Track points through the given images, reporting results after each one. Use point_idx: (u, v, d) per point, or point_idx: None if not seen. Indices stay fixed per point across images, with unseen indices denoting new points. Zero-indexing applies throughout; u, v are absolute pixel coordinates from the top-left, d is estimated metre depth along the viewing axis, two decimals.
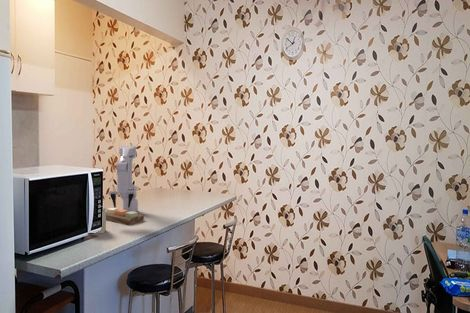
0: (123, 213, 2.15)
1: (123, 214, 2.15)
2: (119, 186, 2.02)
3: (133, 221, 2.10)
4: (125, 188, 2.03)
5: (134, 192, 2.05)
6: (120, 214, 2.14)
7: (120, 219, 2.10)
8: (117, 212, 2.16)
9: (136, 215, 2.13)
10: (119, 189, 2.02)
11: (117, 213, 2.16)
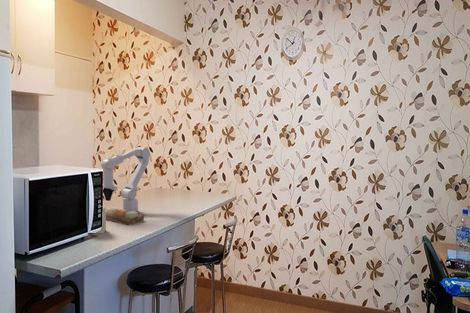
0: (123, 213, 2.15)
1: (123, 214, 2.15)
2: (103, 181, 2.21)
3: (133, 221, 2.10)
4: (107, 184, 2.20)
5: (114, 188, 2.19)
6: (120, 214, 2.14)
7: (120, 219, 2.10)
8: (117, 212, 2.16)
9: (136, 215, 2.13)
10: (103, 184, 2.22)
11: (117, 213, 2.16)
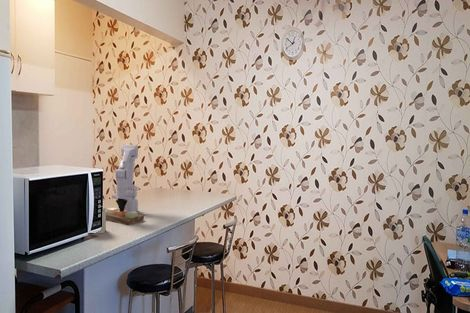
0: (123, 214, 2.15)
1: (123, 215, 2.15)
2: (117, 192, 2.15)
3: (133, 221, 2.10)
4: (121, 194, 2.14)
5: (128, 199, 2.12)
6: (120, 215, 2.14)
7: (120, 219, 2.10)
8: (117, 213, 2.16)
9: (136, 215, 2.13)
10: (117, 194, 2.15)
11: (117, 214, 2.16)
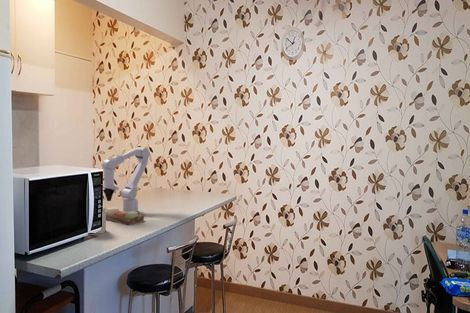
0: (123, 215, 2.15)
1: None
2: (104, 182, 2.21)
3: (133, 221, 2.10)
4: (108, 184, 2.20)
5: (115, 188, 2.19)
6: None
7: (120, 219, 2.10)
8: (117, 214, 2.16)
9: (136, 215, 2.13)
10: (104, 184, 2.21)
11: (117, 215, 2.16)
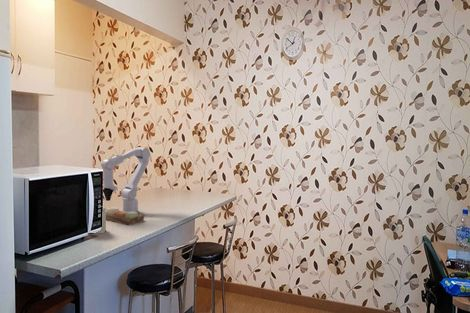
0: (123, 215, 2.15)
1: None
2: (103, 181, 2.21)
3: (133, 221, 2.10)
4: (107, 184, 2.20)
5: (114, 188, 2.19)
6: None
7: (120, 219, 2.10)
8: (117, 214, 2.16)
9: (136, 215, 2.13)
10: (103, 184, 2.22)
11: (117, 215, 2.16)
